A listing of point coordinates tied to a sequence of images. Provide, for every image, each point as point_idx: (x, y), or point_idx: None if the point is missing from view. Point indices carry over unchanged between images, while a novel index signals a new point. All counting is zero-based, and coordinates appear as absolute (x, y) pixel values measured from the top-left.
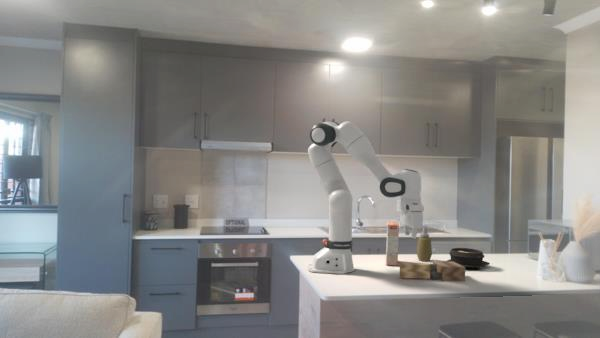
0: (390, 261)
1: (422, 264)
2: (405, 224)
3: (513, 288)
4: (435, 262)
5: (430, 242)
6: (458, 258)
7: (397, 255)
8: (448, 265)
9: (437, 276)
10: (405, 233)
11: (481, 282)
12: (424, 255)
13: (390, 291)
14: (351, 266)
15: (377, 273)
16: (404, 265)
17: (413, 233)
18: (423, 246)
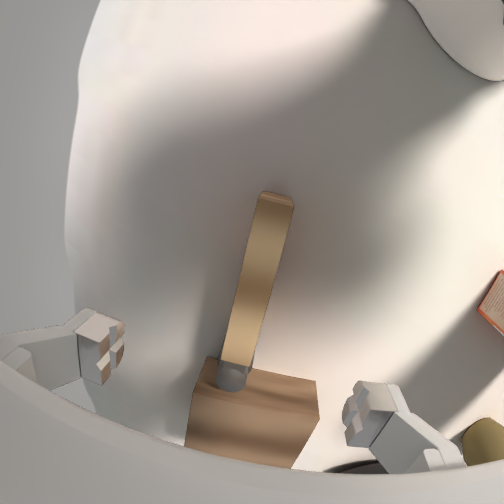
0: (501, 290)
1: (235, 326)
2: (307, 483)
3: None
4: (291, 416)
5: None
6: None
7: (500, 331)
8: (220, 426)
9: None
10: (372, 389)
11: (175, 438)
12: (474, 440)
13: (100, 61)
14: (449, 31)
15: (397, 134)
16: (254, 216)
17: (46, 339)
18: (489, 459)
